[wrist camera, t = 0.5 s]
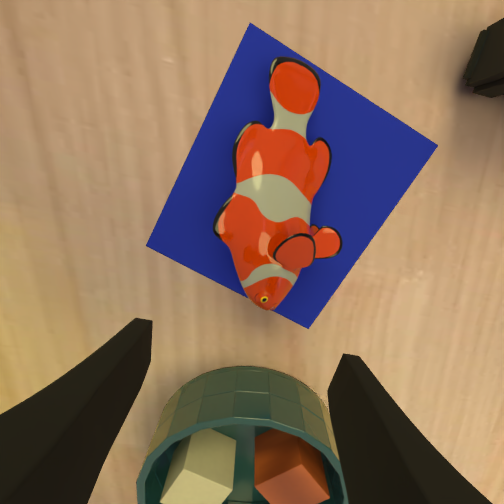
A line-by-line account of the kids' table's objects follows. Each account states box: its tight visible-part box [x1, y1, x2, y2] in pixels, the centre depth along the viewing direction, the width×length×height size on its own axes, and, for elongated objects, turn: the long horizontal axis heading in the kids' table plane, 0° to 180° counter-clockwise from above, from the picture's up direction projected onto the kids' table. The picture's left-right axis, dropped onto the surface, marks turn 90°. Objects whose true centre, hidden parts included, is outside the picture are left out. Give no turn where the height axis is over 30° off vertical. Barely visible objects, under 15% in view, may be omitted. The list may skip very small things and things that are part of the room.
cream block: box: [160, 428, 236, 504], centre depth 24 cm, size 4×4×4 cm
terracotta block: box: [254, 428, 330, 504], centre depth 23 cm, size 4×4×4 cm
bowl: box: [136, 366, 349, 504], centre depth 24 cm, size 15×15×5 cm
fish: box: [212, 55, 344, 311], centre depth 17 cm, size 13×5×8 cm
